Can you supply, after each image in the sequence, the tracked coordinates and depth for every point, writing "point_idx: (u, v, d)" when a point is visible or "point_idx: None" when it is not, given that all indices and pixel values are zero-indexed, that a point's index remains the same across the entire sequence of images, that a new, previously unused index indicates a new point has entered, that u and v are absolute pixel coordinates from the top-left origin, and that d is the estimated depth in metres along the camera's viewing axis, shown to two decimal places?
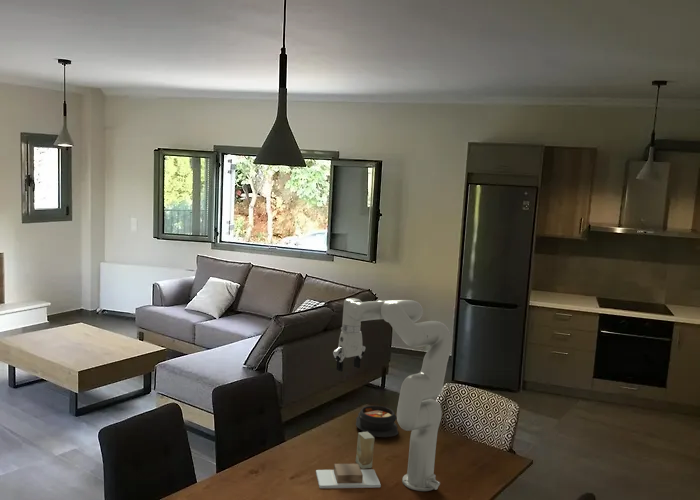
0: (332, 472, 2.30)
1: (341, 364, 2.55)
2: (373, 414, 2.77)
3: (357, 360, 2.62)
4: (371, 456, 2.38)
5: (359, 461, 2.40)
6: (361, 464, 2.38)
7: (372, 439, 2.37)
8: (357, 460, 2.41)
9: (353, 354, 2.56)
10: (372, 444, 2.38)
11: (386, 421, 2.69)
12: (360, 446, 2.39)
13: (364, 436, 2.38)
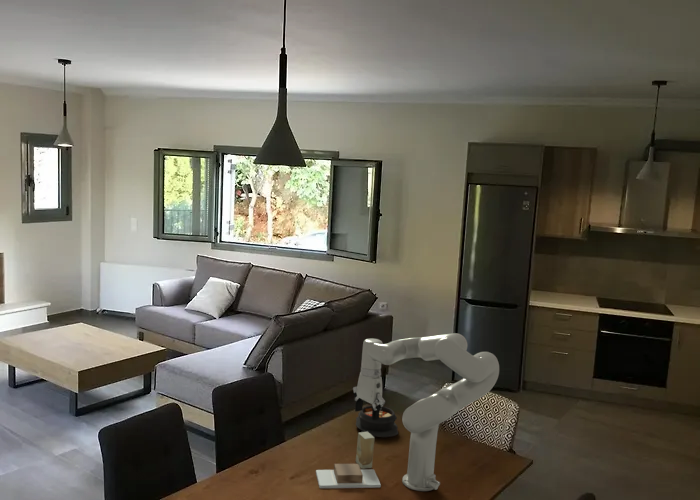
0: (332, 472, 2.30)
1: (378, 411, 2.35)
2: None
3: (361, 403, 2.42)
4: (371, 456, 2.38)
5: (359, 461, 2.40)
6: (361, 464, 2.38)
7: (372, 439, 2.37)
8: (357, 460, 2.41)
9: None
10: (372, 444, 2.38)
11: (386, 421, 2.69)
12: (360, 446, 2.39)
13: (364, 436, 2.38)
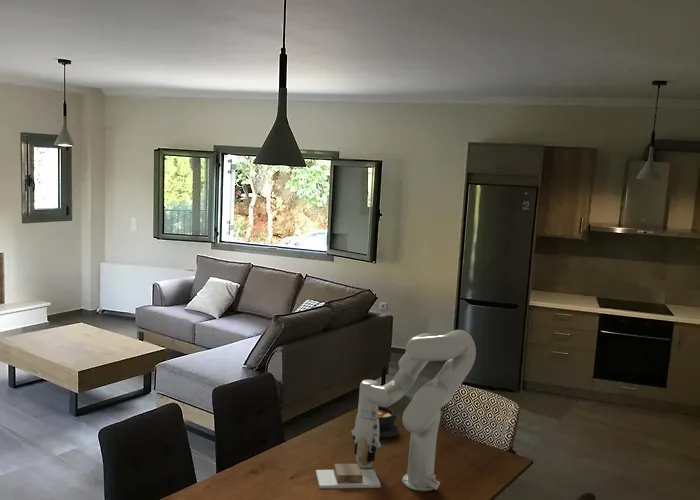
0: (332, 472, 2.30)
1: None
2: None
3: None
4: None
5: (359, 461, 2.40)
6: (361, 464, 2.38)
7: None
8: (357, 460, 2.41)
9: None
10: None
11: (386, 421, 2.69)
12: (360, 446, 2.39)
13: None
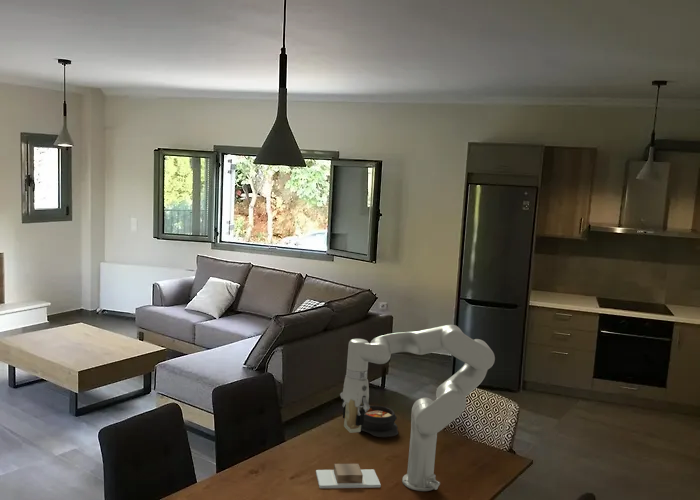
0: (332, 472, 2.30)
1: None
2: (373, 414, 2.77)
3: None
4: None
5: (347, 425, 2.26)
6: (349, 428, 2.24)
7: None
8: (345, 424, 2.27)
9: None
10: (361, 407, 2.24)
11: (386, 421, 2.69)
12: (348, 408, 2.26)
13: None
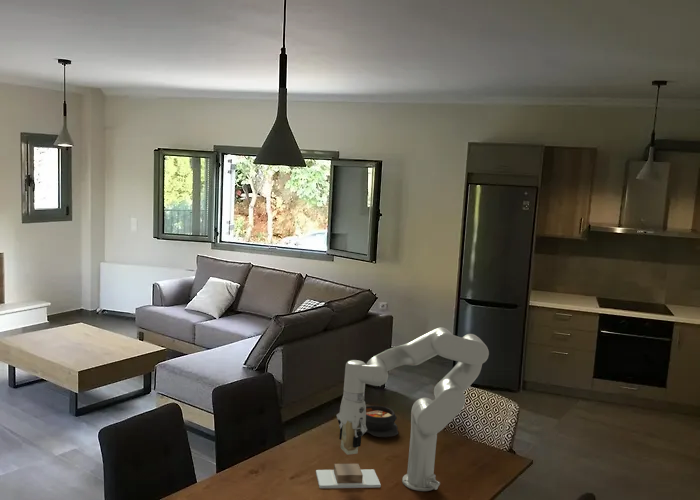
0: (332, 472, 2.30)
1: None
2: (373, 414, 2.77)
3: None
4: None
5: (344, 446, 2.26)
6: (346, 449, 2.24)
7: None
8: (342, 445, 2.27)
9: None
10: None
11: (386, 421, 2.69)
12: (345, 430, 2.25)
13: None
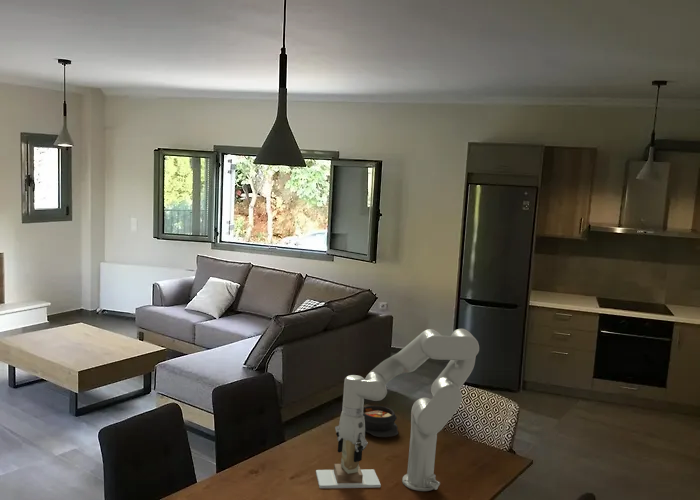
0: (332, 472, 2.30)
1: None
2: (373, 414, 2.77)
3: None
4: None
5: (344, 465, 2.26)
6: (346, 468, 2.24)
7: None
8: (342, 464, 2.27)
9: None
10: None
11: (386, 421, 2.69)
12: (345, 449, 2.25)
13: None
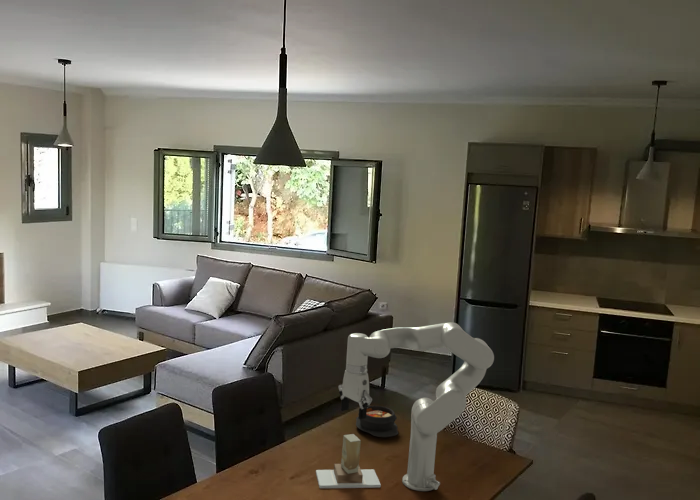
0: (332, 472, 2.30)
1: (365, 410, 2.23)
2: (373, 414, 2.77)
3: (347, 401, 2.29)
4: (357, 460, 2.25)
5: (344, 465, 2.26)
6: (346, 468, 2.24)
7: (358, 442, 2.24)
8: (342, 464, 2.27)
9: None
10: (358, 447, 2.24)
11: (386, 421, 2.69)
12: (345, 449, 2.25)
13: (350, 439, 2.24)
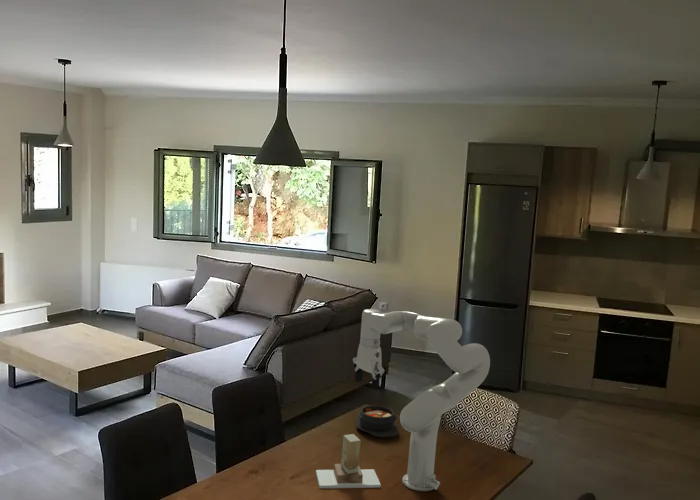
0: (332, 472, 2.30)
1: None
2: (373, 414, 2.77)
3: (360, 373, 2.45)
4: (357, 460, 2.25)
5: (344, 465, 2.26)
6: (346, 468, 2.24)
7: (358, 442, 2.24)
8: (342, 464, 2.27)
9: None
10: (358, 447, 2.24)
11: (386, 421, 2.69)
12: (345, 449, 2.25)
13: (350, 439, 2.24)
